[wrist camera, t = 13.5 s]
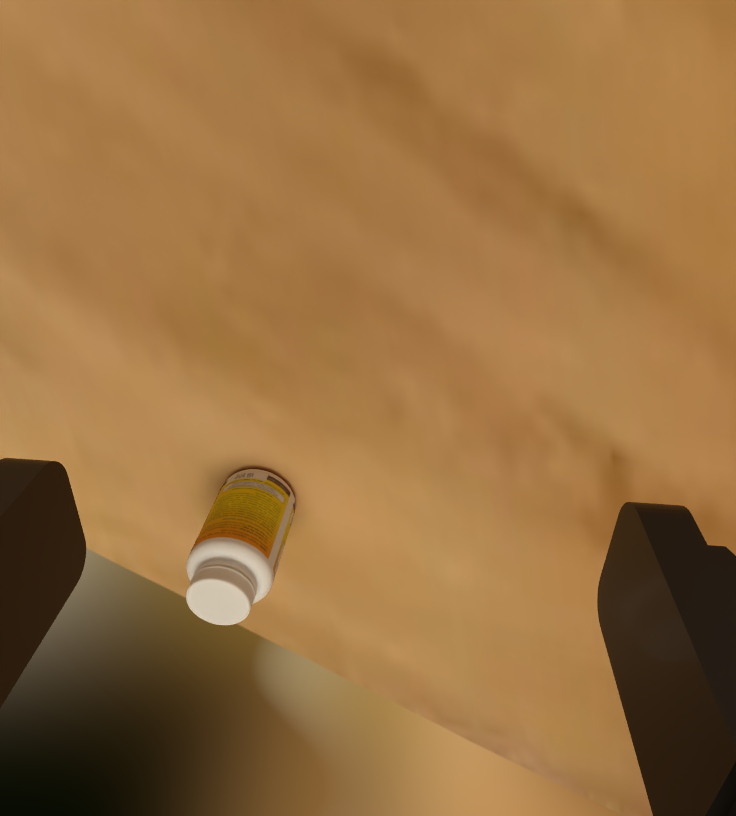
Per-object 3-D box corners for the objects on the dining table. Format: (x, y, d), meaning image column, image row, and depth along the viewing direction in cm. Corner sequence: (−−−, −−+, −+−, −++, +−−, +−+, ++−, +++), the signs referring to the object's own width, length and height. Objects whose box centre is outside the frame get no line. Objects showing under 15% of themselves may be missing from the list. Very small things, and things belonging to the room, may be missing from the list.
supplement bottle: (213, 468, 47) (159, 571, 38) (287, 462, 46) (249, 566, 37) (234, 527, 50) (188, 636, 41) (304, 522, 48) (273, 633, 40)
